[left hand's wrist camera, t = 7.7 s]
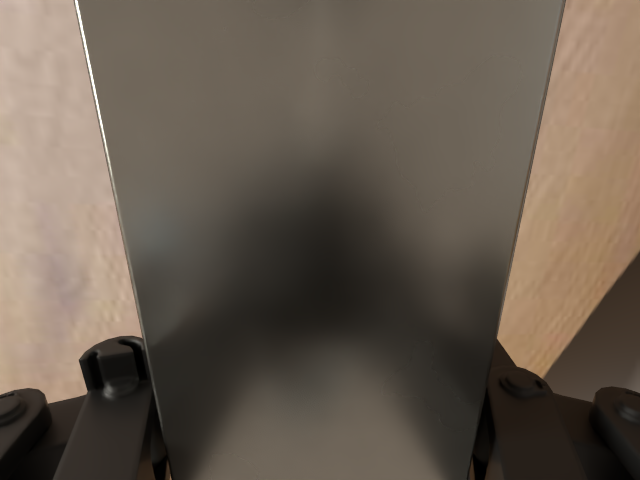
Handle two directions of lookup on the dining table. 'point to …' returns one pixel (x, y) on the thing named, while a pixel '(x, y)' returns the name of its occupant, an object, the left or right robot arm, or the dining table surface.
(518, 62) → the bar
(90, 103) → the dining table surface
